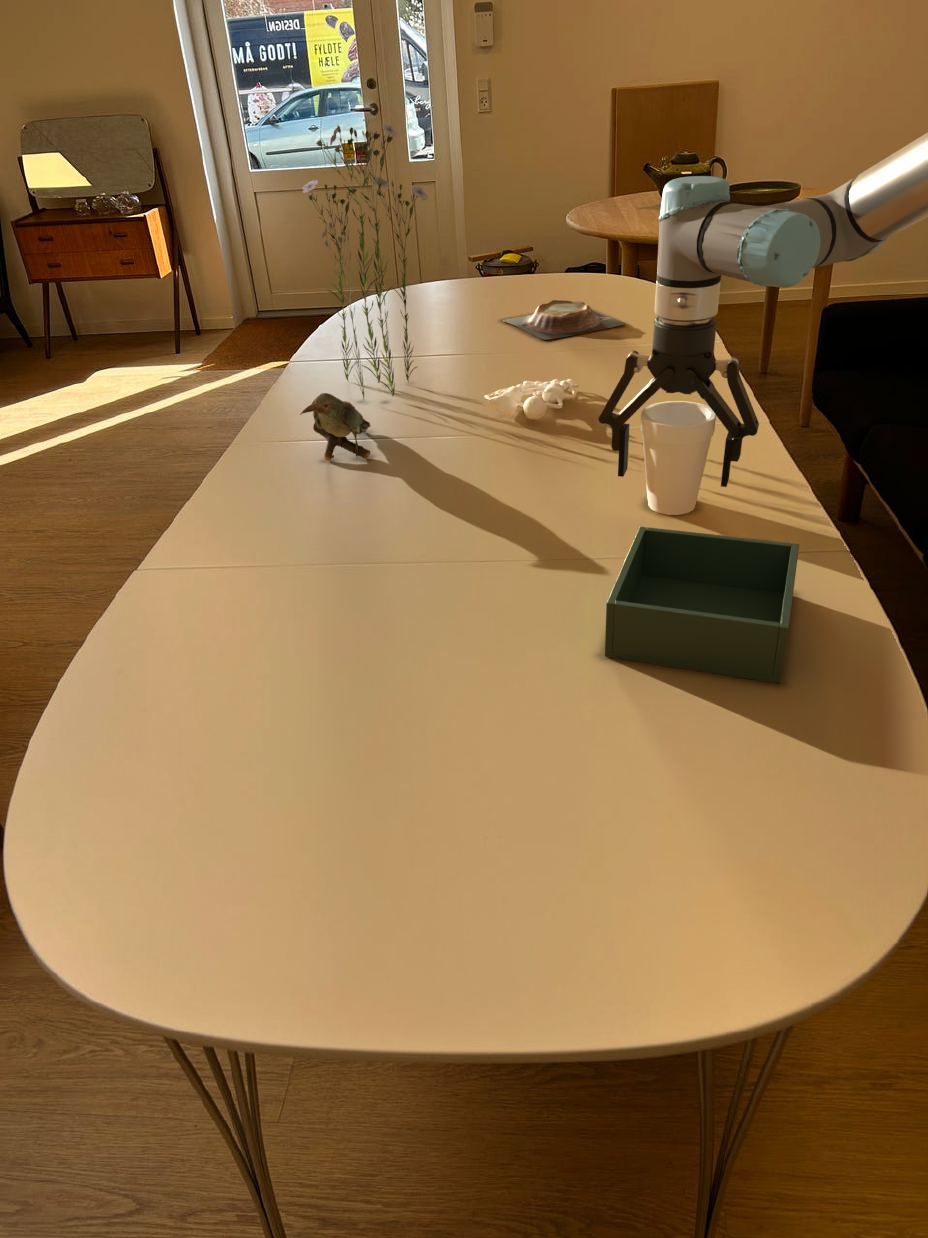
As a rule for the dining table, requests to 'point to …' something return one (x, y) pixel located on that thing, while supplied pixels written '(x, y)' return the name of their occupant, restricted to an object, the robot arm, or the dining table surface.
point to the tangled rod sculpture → (532, 405)
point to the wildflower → (380, 184)
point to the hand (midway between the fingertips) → (672, 477)
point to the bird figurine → (338, 424)
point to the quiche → (563, 320)
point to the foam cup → (675, 453)
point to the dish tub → (703, 603)
